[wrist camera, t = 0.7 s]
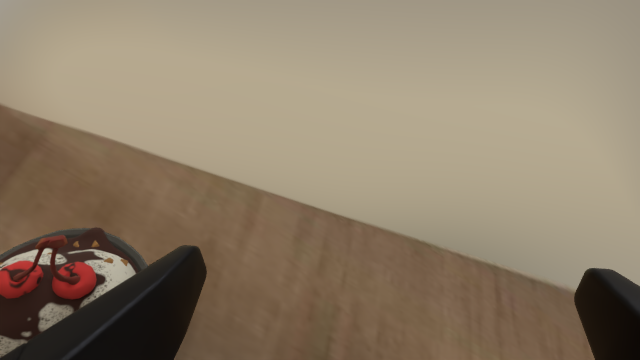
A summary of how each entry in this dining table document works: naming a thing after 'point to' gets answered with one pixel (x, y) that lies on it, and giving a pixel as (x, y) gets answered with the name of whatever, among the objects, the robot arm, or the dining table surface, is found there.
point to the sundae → (58, 279)
